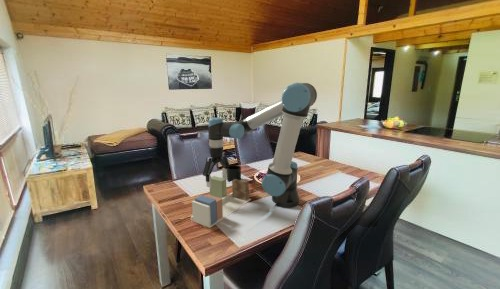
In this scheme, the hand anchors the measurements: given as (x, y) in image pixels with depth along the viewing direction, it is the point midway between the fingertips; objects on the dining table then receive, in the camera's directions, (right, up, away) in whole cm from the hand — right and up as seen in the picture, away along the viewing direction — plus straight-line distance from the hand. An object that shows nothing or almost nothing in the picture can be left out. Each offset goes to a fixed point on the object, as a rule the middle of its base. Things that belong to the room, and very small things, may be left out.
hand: (217, 182), depth 143 cm
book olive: (0, -9, +2) cm, 9 cm away
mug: (+9, -3, +28) cm, 30 cm away
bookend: (+13, -8, -1) cm, 16 cm away
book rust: (+1, -13, -20) cm, 24 cm away
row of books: (+5, -12, -13) cm, 18 cm away
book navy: (-2, -14, -24) cm, 28 cm away
